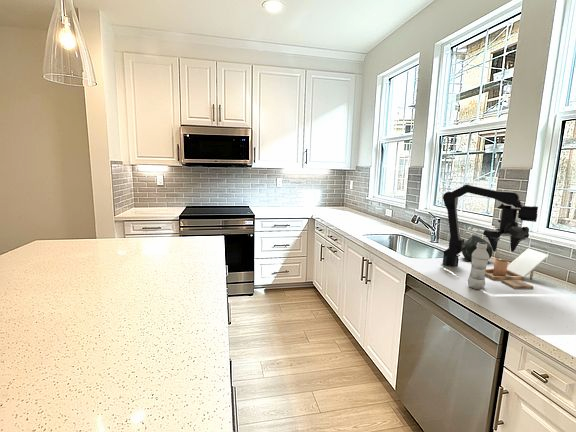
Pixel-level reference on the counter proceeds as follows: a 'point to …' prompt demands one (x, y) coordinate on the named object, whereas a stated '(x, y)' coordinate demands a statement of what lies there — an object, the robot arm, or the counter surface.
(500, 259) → the pot
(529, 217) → the robot arm
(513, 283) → the stand
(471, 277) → the plastic bottle
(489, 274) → the wooden tray
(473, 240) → the squash
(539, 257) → the propped lid
